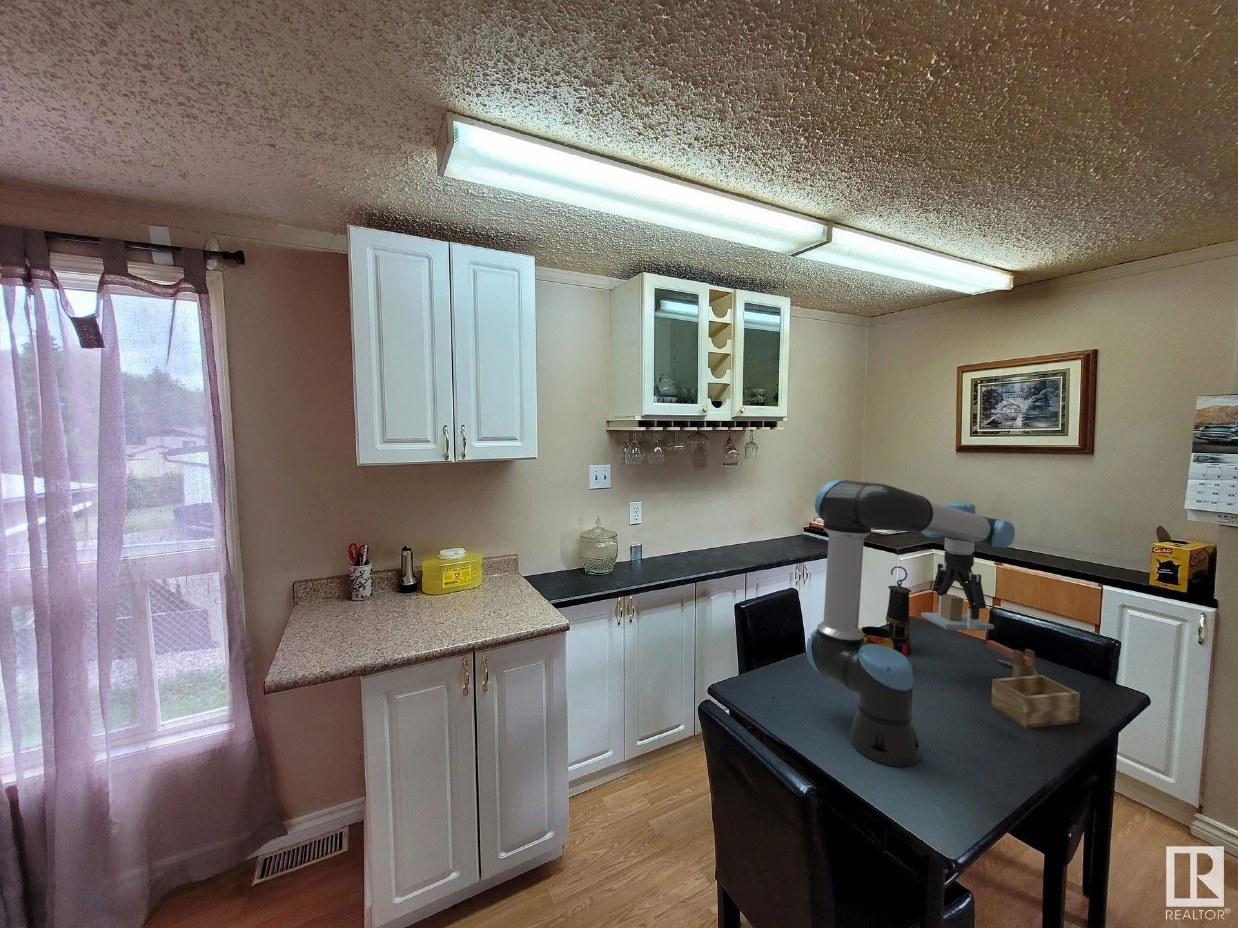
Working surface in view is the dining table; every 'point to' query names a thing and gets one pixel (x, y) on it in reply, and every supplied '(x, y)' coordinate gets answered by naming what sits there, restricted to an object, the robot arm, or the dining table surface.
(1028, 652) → the post
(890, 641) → the mug
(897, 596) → the lantern
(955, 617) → the lid
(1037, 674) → the jawbone
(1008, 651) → the bar
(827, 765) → the dining table surface
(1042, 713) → the open wooden box
